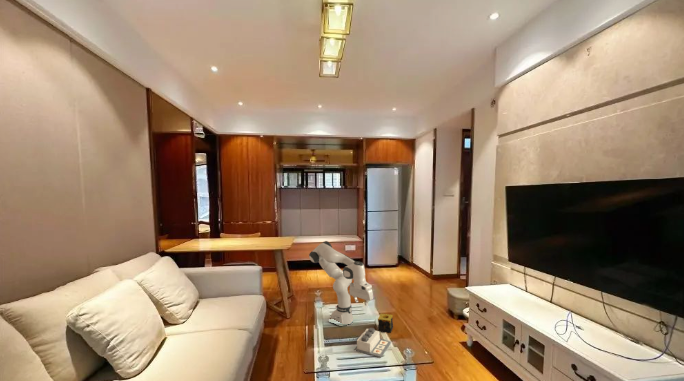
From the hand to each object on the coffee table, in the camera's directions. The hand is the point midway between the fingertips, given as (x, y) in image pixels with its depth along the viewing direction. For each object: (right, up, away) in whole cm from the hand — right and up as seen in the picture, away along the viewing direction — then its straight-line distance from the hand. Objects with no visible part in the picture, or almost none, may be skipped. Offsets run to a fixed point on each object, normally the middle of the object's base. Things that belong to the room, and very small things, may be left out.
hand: (361, 303), depth 187 cm
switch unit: (+8, -28, -5) cm, 30 cm away
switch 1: (+2, -26, -8) cm, 27 cm away
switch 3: (+5, -26, -3) cm, 26 cm away
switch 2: (+8, -26, +2) cm, 27 cm away
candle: (+21, -28, +17) cm, 39 cm away
